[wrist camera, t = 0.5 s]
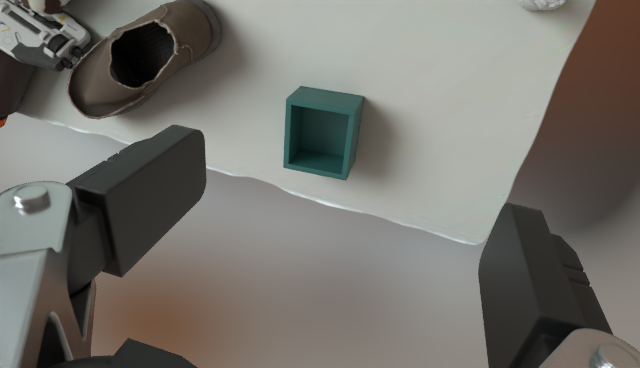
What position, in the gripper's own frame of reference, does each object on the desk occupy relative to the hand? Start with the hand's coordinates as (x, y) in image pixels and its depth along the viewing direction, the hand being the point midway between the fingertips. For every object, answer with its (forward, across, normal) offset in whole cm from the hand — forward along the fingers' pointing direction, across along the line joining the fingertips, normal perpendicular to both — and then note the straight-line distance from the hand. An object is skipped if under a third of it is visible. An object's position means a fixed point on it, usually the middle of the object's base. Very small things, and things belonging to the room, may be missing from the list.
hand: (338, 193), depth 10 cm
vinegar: (+43, +62, +13) cm, 76 cm away
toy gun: (+35, +63, +16) cm, 74 cm away
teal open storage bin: (+46, +10, +18) cm, 51 cm away
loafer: (+46, +40, +13) cm, 63 cm away
